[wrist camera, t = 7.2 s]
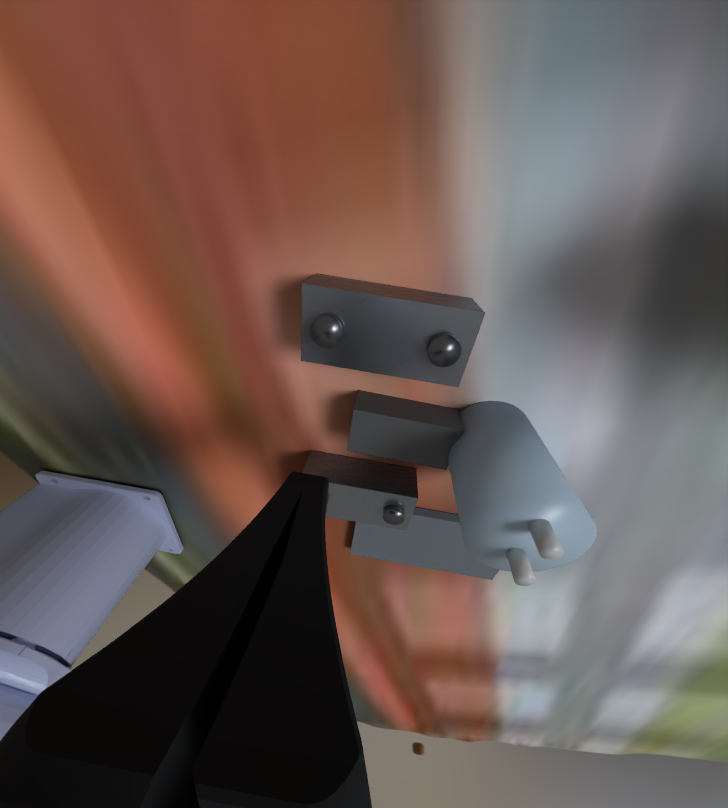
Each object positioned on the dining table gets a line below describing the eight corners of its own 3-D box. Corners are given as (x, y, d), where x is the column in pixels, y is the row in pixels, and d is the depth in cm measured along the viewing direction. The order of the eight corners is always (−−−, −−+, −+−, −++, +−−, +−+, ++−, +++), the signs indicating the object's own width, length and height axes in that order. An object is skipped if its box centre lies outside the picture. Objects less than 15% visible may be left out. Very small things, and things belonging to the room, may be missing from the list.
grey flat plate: (351, 546, 22) (350, 554, 22) (360, 497, 19) (359, 504, 19) (489, 571, 22) (491, 579, 22) (523, 526, 19) (526, 534, 18)
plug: (349, 441, 17) (322, 560, 11) (361, 374, 14) (332, 482, 8) (508, 471, 17) (566, 608, 11) (546, 410, 14) (648, 544, 8)
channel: (309, 483, 19) (297, 517, 17) (317, 273, 12) (298, 285, 10) (405, 500, 19) (406, 536, 17) (471, 298, 12) (488, 316, 10)
